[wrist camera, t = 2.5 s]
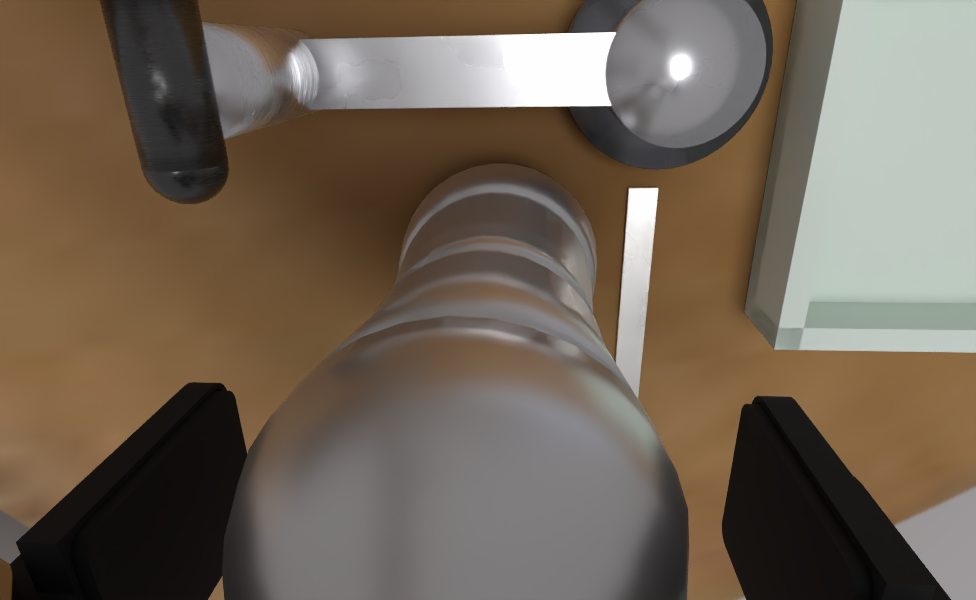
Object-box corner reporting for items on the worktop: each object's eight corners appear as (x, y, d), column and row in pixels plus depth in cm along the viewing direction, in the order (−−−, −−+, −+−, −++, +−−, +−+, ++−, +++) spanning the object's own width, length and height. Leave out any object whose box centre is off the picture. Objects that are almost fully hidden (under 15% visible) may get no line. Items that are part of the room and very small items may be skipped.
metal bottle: (396, 293, 23) (-153, 1285, 4) (444, 122, 20) (-406, 851, 2) (551, 343, 23) (627, 1437, 5) (619, 183, 21) (1336, 1264, 2)
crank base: (563, -38, 18) (567, -48, 16) (763, -44, 18) (790, -55, 16) (551, 402, 24) (552, 430, 22) (698, 405, 24) (712, 434, 22)
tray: (803, -38, 18) (853, -54, 15) (1182, -49, 17) (1308, -68, 14) (744, 312, 22) (774, 349, 19) (1039, 315, 21) (1115, 354, 19)
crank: (752, -26, 16) (930, -86, 9) (728, 147, 18) (859, 212, 11) (246, -12, 17) (41, -56, 10) (272, 151, 19) (114, 213, 12)
